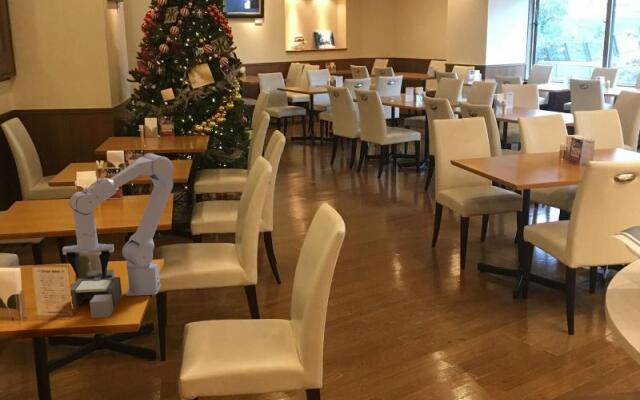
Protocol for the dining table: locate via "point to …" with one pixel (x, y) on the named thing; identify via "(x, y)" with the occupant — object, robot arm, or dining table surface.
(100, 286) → the trapdoor flap
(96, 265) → the candle
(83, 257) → the olive green cylinder
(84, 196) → the robot arm
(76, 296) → the trapdoor frame
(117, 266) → the dining table surface
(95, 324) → the dining table surface
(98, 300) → the grey cube
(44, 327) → the dining table surface
